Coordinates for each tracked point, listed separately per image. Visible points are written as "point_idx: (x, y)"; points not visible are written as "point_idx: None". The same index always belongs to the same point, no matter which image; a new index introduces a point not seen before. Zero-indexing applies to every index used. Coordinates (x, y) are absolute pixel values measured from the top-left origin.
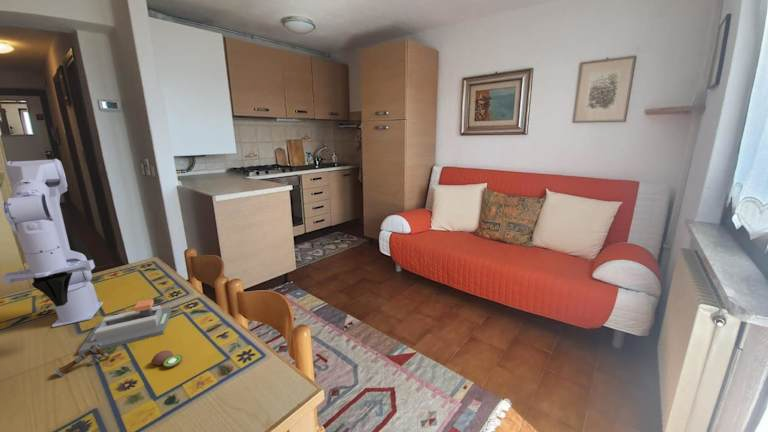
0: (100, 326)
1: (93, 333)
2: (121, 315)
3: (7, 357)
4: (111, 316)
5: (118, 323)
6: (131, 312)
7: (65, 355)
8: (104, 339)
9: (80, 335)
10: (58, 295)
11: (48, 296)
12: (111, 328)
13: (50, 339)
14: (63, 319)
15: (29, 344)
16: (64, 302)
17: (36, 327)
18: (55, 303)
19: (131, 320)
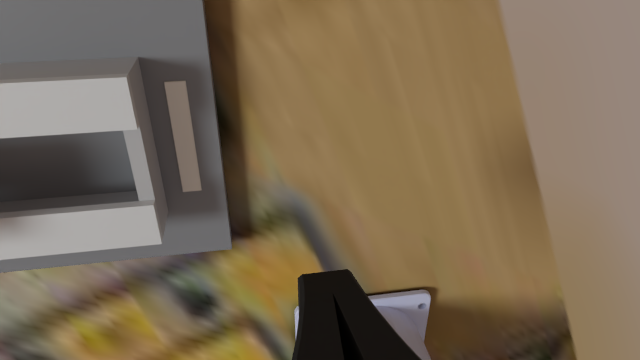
0: (142, 159)
1: (204, 156)
2: (59, 232)
3: (522, 125)
4: (121, 240)
5: (12, 137)
6: (8, 247)
7: (279, 18)
8: (98, 59)
9: (286, 188)
10: (321, 350)
11: (401, 346)
12: (24, 86)
13: (404, 203)
14: (396, 318)
15: (471, 195)
16: (299, 301)
17: (482, 308)
18: (351, 288)
19: (28, 206)
